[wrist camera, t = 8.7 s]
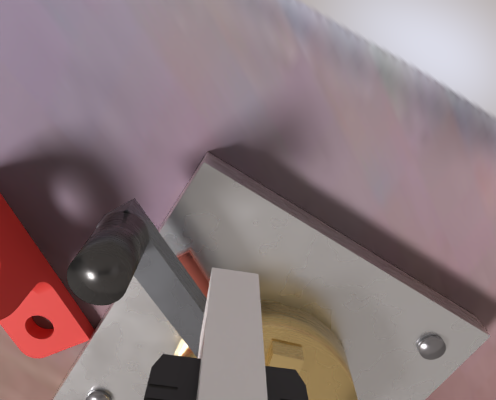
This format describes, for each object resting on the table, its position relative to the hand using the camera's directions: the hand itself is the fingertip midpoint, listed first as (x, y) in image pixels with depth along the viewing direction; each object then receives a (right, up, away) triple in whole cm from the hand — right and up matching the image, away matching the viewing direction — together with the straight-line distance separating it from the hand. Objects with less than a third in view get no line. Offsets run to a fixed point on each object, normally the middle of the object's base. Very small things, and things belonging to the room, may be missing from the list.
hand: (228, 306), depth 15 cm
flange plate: (+1, -7, +16) cm, 17 cm away
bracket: (-14, -1, +14) cm, 20 cm away
